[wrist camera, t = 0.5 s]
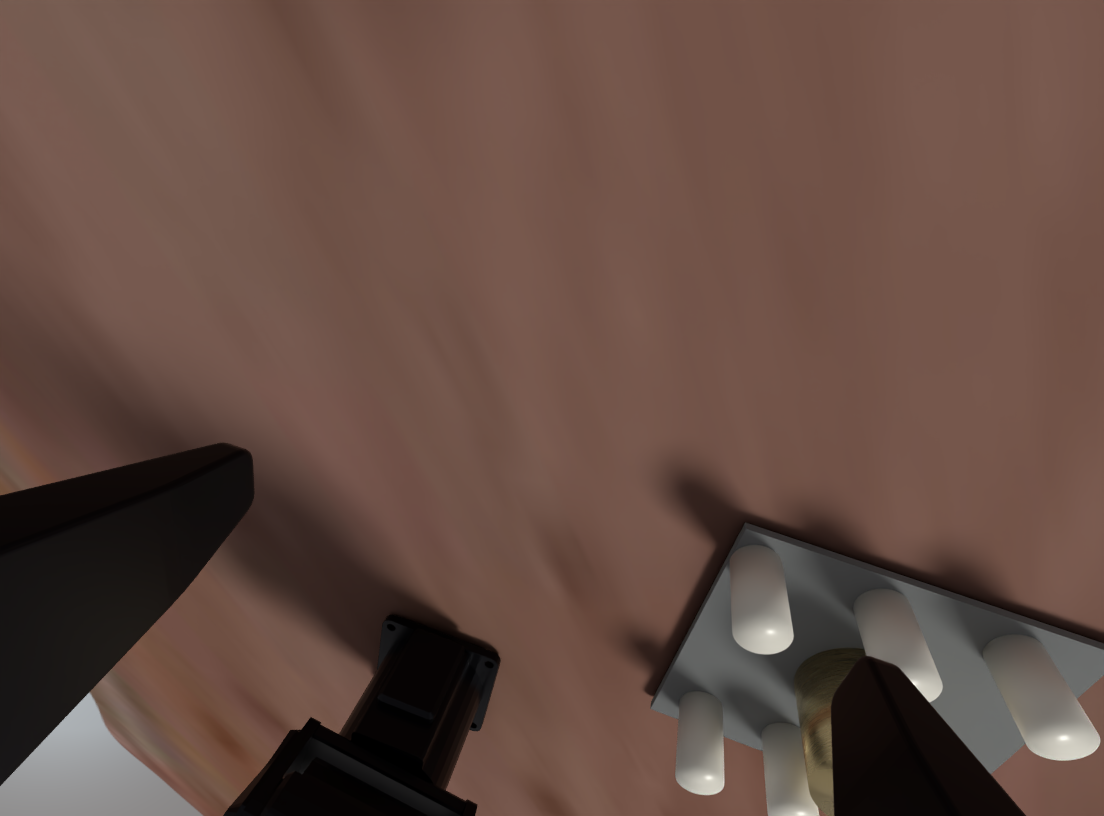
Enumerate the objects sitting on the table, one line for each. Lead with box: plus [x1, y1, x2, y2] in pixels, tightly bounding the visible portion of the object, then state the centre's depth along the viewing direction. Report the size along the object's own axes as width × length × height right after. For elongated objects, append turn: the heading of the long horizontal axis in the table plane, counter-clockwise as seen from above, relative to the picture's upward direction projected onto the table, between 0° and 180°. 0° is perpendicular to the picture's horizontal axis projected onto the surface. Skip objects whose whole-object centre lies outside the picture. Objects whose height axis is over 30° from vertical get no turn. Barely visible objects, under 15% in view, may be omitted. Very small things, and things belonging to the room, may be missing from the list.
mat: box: [651, 522, 1104, 774], centre depth 25 cm, size 12×14×1 cm
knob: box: [794, 648, 866, 816], centre depth 23 cm, size 5×5×5 cm
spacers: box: [675, 545, 1100, 816], centre depth 23 cm, size 11×12×4 cm
